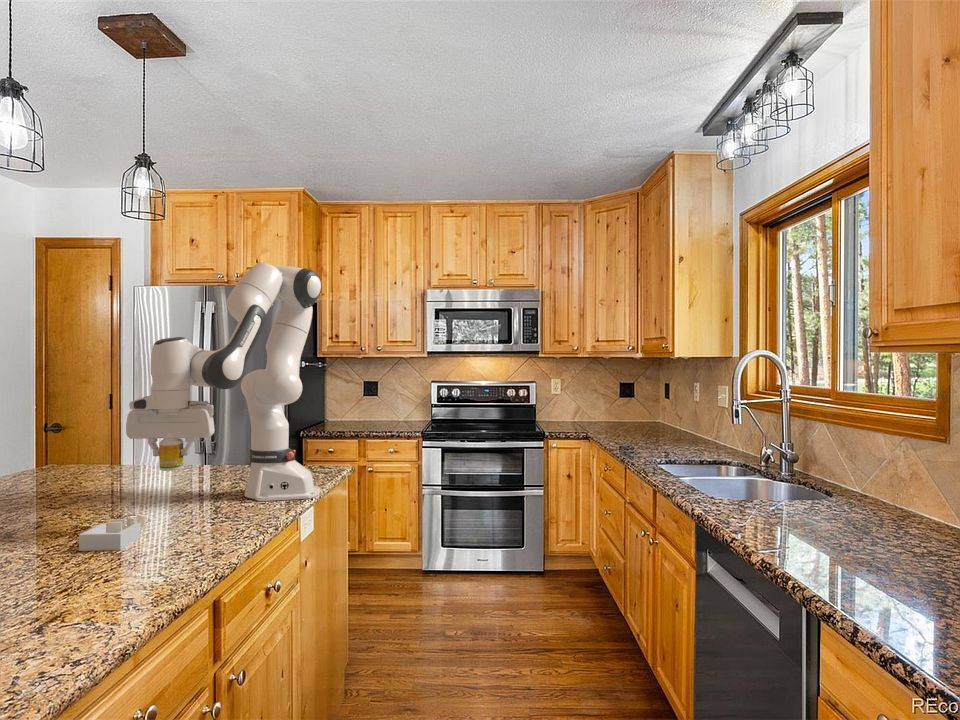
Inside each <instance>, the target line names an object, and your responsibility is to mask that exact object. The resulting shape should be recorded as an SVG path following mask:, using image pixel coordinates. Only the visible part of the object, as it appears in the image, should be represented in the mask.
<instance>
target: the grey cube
mask: <svg viewBox="0 0 960 720" xmlns="http://www.w3.org/2000/svg"><path fill="white" fill-rule="evenodd" d="M109 521H110V522H109ZM109 521H108V522H106V533H119V532H120V531H122V530H124V529H126V518H118V519H117V518H116V519H110V520H109Z"/></svg>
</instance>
